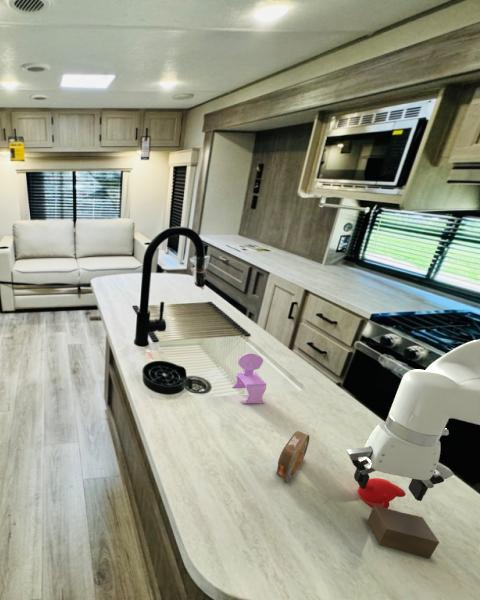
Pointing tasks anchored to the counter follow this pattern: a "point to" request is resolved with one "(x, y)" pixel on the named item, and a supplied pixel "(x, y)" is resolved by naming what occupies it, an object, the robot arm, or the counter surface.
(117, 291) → the counter surface
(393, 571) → the counter surface
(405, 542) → the stop block
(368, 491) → the cap
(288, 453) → the tin
